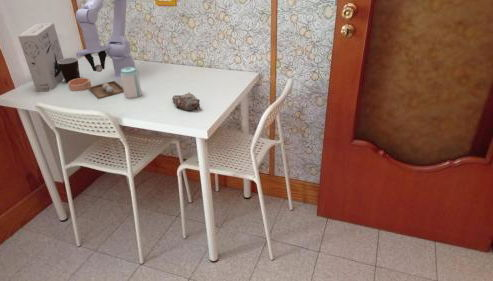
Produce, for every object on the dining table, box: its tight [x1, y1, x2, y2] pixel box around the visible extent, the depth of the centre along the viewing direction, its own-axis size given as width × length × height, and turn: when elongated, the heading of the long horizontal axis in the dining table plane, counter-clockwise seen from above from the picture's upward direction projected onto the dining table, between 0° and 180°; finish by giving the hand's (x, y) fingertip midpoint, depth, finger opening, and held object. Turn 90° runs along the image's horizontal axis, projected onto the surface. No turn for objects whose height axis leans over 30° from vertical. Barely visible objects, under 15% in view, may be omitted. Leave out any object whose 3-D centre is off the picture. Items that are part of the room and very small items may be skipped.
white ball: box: [102, 82, 110, 91], centre depth 166 cm, size 3×3×3 cm
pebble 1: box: [95, 64, 104, 73], centre depth 166 cm, size 3×3×3 cm
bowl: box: [67, 77, 92, 92], centre depth 171 cm, size 9×9×3 cm
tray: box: [87, 80, 124, 100], centre depth 167 cm, size 12×14×1 cm
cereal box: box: [17, 22, 65, 93], centre depth 173 cm, size 22×8×25 cm, turn 6°
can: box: [120, 67, 143, 99], centre depth 159 cm, size 7×7×12 cm
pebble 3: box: [106, 86, 114, 94], centre depth 163 cm, size 3×3×3 cm
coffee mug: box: [58, 57, 81, 83], centre depth 179 cm, size 12×9×10 cm
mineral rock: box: [171, 92, 201, 111], centre depth 151 cm, size 15×8×4 cm, turn 31°
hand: (98, 69), depth 166 cm, fingers closed on pebble 1, 3 cm apart
